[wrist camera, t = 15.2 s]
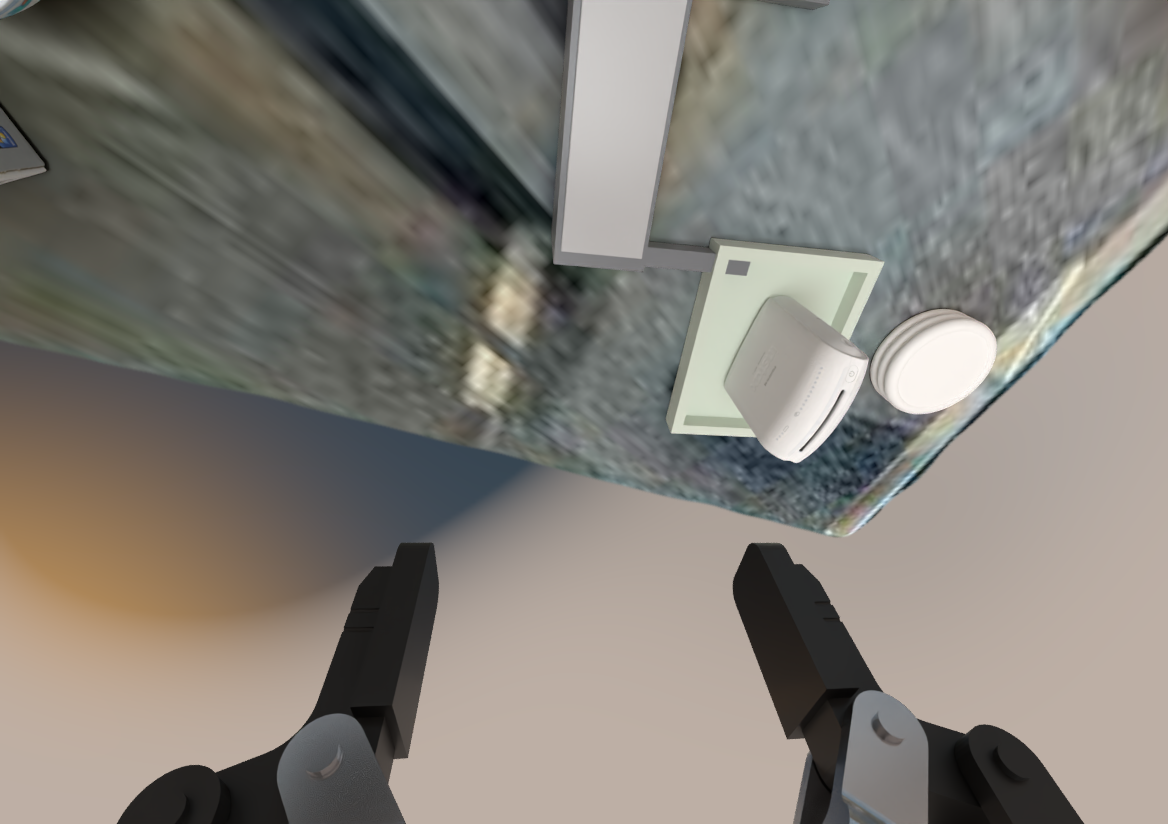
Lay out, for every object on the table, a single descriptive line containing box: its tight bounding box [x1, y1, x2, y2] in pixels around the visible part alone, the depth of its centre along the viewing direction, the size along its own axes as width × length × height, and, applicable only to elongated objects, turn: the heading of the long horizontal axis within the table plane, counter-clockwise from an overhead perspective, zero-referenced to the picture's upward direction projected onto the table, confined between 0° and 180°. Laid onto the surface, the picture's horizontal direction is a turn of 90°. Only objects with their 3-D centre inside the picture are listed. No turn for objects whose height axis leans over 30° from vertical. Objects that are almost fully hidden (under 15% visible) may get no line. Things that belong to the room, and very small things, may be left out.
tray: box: [666, 238, 884, 437], centre depth 43 cm, size 18×14×2 cm
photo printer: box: [724, 296, 869, 463], centre depth 38 cm, size 10×4×12 cm, turn 163°
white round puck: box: [870, 309, 997, 414], centre depth 45 cm, size 10×10×4 cm
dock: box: [551, 0, 830, 276], centre depth 30 cm, size 18×16×9 cm
